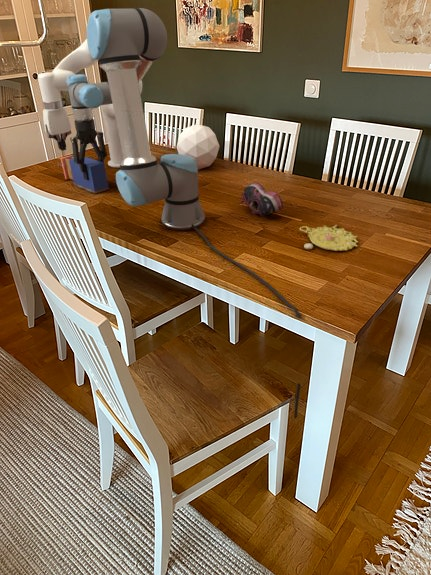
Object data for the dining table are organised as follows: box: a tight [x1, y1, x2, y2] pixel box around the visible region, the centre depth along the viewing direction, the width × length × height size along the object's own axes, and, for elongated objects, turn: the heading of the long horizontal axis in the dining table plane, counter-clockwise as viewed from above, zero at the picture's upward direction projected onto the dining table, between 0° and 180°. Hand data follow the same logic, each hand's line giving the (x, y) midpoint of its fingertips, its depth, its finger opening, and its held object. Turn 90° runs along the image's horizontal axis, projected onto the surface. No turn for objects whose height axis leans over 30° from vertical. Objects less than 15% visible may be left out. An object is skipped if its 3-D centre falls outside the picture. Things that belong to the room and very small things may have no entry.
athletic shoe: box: [238, 182, 284, 217], centre depth 160 cm, size 11×22×12 cm
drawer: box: [56, 154, 74, 181], centre depth 194 cm, size 22×5×9 cm, turn 44°
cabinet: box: [69, 156, 110, 195], centre depth 186 cm, size 17×7×11 cm, turn 44°
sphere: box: [175, 123, 221, 170], centre depth 203 cm, size 19×20×20 cm
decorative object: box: [299, 224, 359, 252], centre depth 141 cm, size 21×2×20 cm
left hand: (62, 149), depth 194 cm, fingers closed
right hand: (94, 177), depth 183 cm, fingers closed on cabinet, 7 cm apart
